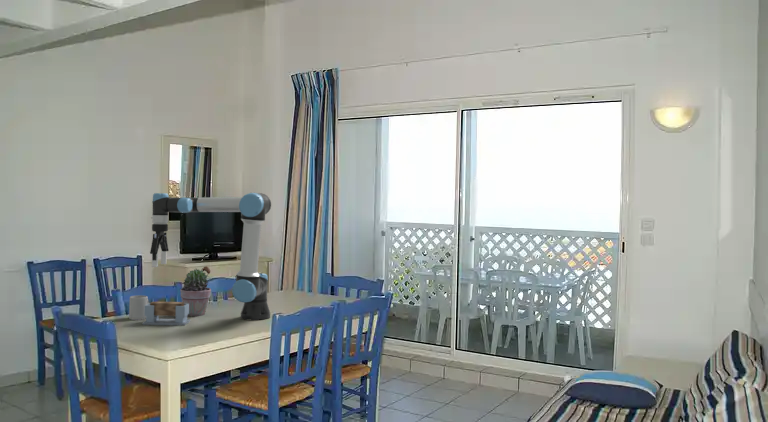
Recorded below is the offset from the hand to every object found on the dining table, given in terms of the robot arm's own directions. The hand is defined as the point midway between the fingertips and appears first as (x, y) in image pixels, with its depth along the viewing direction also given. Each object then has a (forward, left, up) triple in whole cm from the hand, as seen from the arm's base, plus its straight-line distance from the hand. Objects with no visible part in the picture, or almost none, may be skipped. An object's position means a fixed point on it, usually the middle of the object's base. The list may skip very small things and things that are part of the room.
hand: (159, 265), depth 315 cm
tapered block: (-8, +12, -23) cm, 27 cm away
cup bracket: (-8, +12, -27) cm, 30 cm away
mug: (+9, 0, -27) cm, 28 cm away
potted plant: (-15, -11, -27) cm, 33 cm away
